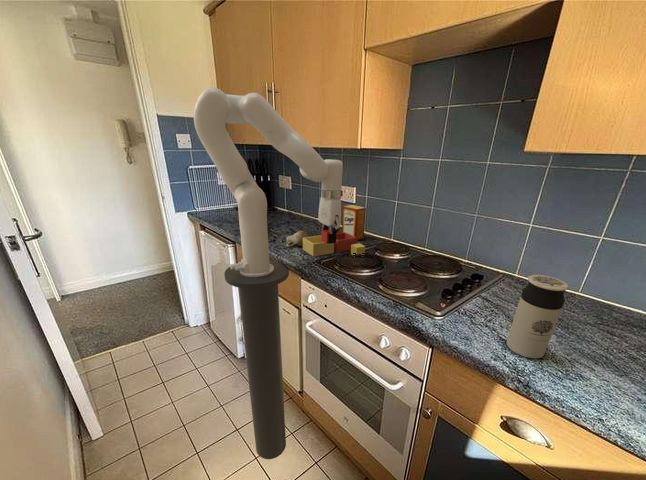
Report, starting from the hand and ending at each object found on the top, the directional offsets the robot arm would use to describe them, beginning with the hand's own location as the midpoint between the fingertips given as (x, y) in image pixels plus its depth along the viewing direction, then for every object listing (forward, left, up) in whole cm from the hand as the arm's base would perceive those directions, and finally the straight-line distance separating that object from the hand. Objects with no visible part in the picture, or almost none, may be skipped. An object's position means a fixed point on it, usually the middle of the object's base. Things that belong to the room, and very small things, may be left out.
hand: (328, 240), depth 120 cm
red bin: (+14, +12, -8) cm, 20 cm away
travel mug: (+13, -73, -9) cm, 75 cm away
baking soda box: (+28, +23, -9) cm, 37 cm away
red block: (0, 0, 0) cm, 0 cm away
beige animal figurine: (-3, +24, -9) cm, 26 cm away
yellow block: (+15, 0, -8) cm, 17 cm away
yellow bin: (+2, +12, -8) cm, 15 cm away
